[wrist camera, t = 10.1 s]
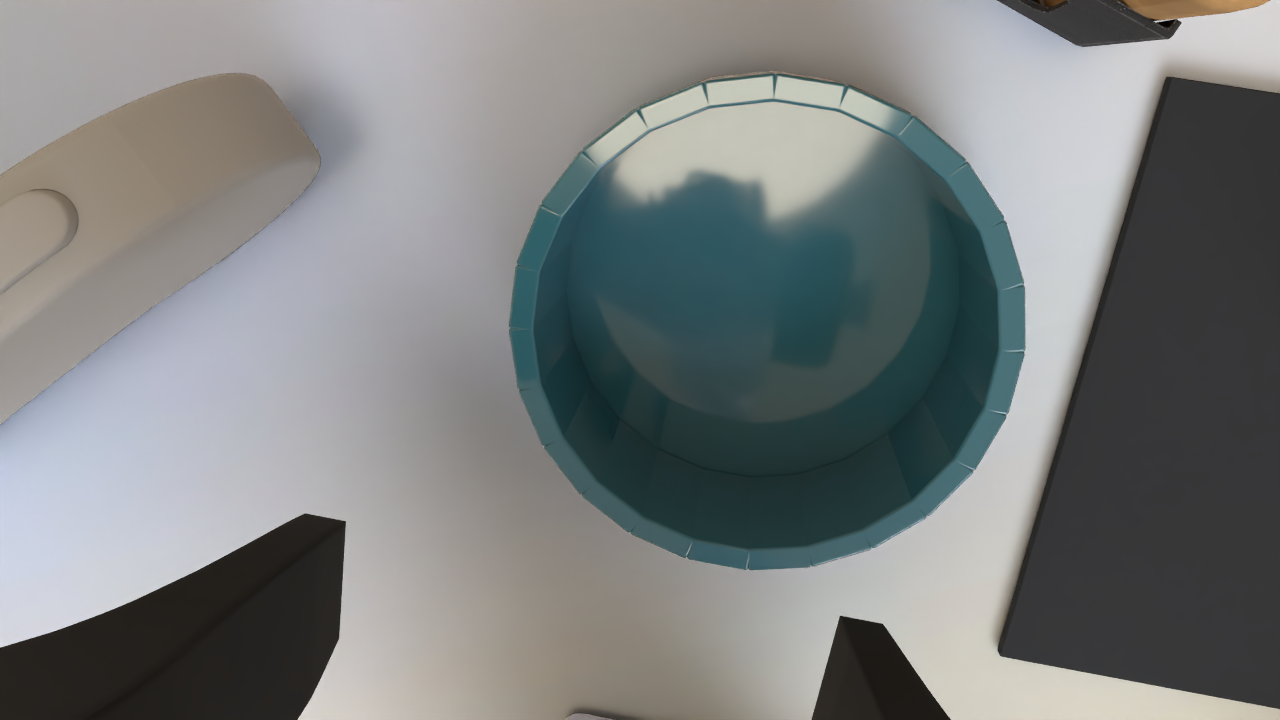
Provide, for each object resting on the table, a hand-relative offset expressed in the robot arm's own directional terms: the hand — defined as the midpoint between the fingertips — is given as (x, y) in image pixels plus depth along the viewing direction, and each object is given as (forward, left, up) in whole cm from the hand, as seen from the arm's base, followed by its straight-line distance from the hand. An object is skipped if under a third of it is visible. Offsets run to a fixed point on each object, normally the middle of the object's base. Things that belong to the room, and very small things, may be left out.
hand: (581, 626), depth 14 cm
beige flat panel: (-1, +15, -11) cm, 18 cm away
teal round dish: (+3, -2, -10) cm, 11 cm away
